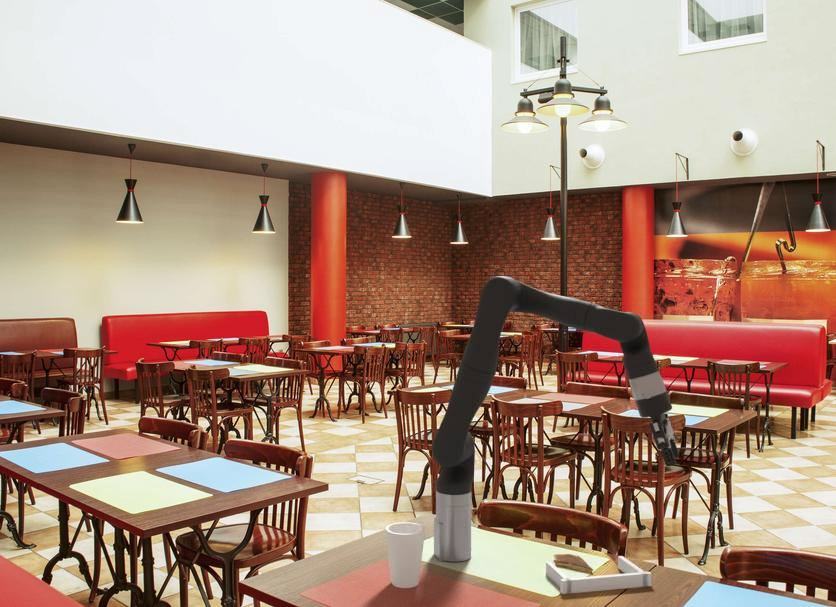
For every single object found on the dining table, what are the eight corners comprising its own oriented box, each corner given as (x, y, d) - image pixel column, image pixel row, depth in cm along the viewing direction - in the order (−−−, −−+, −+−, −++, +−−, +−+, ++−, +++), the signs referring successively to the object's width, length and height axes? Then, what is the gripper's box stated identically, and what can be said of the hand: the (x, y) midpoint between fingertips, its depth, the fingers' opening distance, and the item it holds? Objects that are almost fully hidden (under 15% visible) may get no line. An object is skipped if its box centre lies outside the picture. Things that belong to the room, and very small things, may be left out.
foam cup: (430, 578, 179) (430, 524, 179) (417, 592, 170) (417, 536, 170) (393, 573, 182) (393, 520, 182) (379, 587, 173) (379, 532, 173)
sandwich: (593, 575, 182) (593, 568, 182) (563, 576, 181) (563, 569, 181) (578, 560, 193) (578, 553, 193) (549, 561, 192) (549, 554, 192)
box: (562, 594, 170) (562, 581, 170) (542, 574, 181) (542, 562, 181) (651, 586, 174) (651, 573, 174) (625, 567, 186) (625, 555, 186)
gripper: (638, 394, 181) (660, 459, 179) (629, 402, 168) (653, 472, 166) (669, 386, 178) (692, 451, 176) (662, 393, 165) (687, 464, 163)
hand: (673, 461), depth 171 cm, fingers open, 8 cm apart
